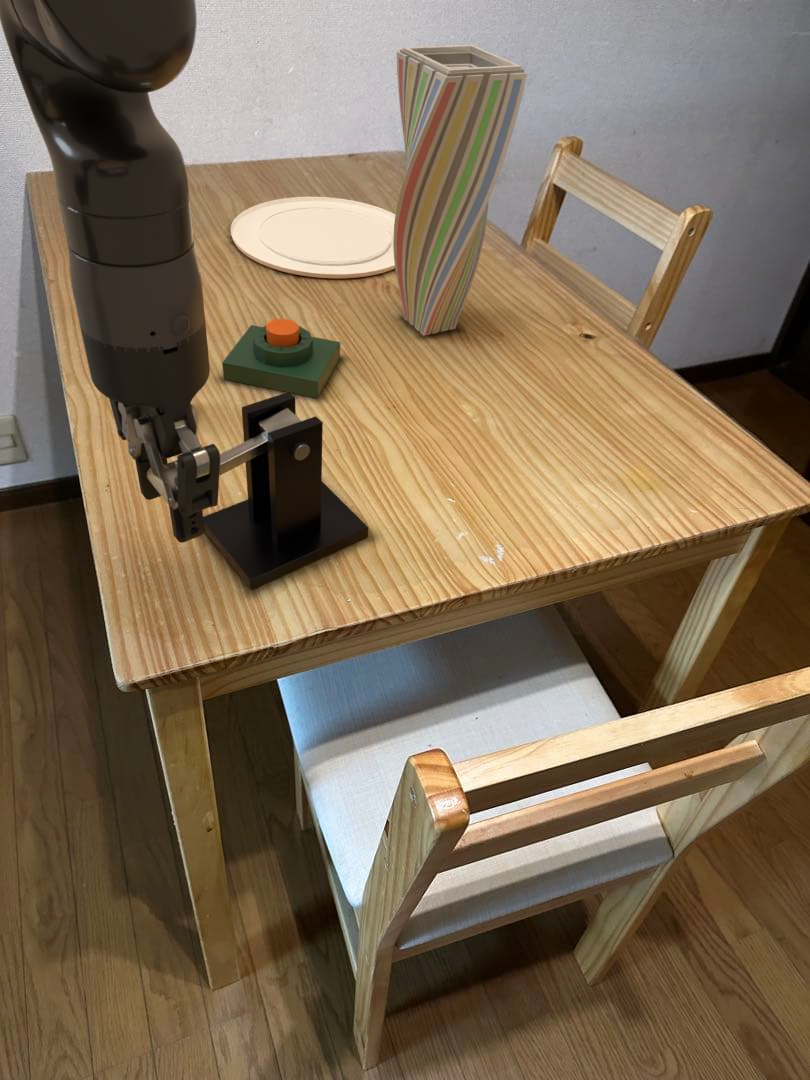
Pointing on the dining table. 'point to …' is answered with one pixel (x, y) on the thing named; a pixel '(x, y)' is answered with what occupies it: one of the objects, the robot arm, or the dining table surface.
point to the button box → (282, 362)
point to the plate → (317, 237)
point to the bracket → (282, 503)
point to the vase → (448, 172)
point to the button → (282, 333)
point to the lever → (241, 448)
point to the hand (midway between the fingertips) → (172, 514)
